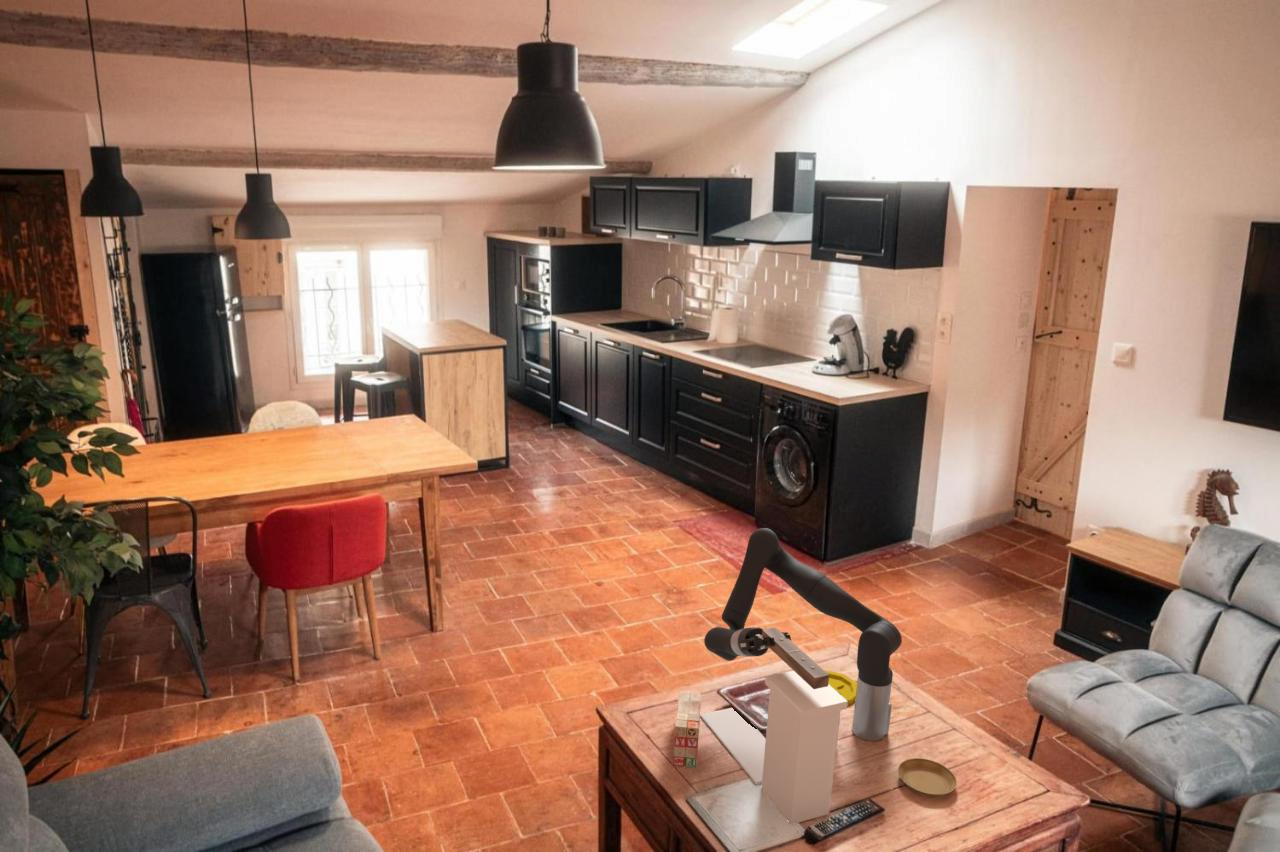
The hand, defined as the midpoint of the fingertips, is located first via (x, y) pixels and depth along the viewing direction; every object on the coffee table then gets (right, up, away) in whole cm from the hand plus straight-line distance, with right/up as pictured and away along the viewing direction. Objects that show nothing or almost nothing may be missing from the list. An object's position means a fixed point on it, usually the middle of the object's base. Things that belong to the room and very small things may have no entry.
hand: (781, 639), depth 225 cm
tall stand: (+3, -40, 0) cm, 41 cm away
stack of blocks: (-23, -34, +21) cm, 46 cm away
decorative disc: (+23, -28, +50) cm, 61 cm away
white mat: (-6, -34, +22) cm, 41 cm away
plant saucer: (+39, -40, +8) cm, 56 cm away
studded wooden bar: (+2, -4, -5) cm, 7 cm away
